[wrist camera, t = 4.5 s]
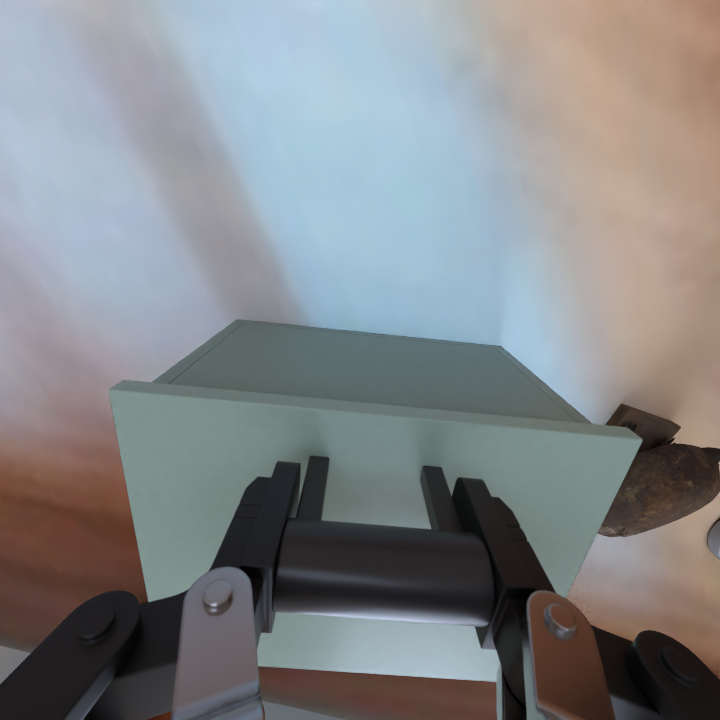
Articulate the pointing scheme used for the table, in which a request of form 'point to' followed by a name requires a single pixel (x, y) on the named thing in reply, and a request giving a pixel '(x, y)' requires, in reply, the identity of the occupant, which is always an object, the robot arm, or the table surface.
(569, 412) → the chest
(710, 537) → the travel mug
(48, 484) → the table surface
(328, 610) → the lid
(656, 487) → the figurine
